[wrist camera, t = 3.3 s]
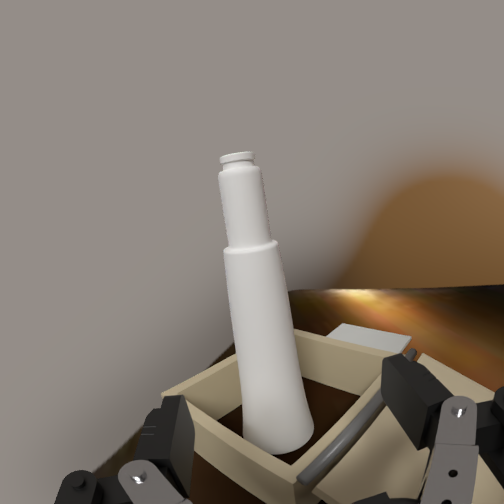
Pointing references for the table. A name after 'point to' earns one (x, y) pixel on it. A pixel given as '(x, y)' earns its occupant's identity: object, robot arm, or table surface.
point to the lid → (401, 455)
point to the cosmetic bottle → (261, 315)
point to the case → (318, 456)
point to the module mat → (370, 338)
